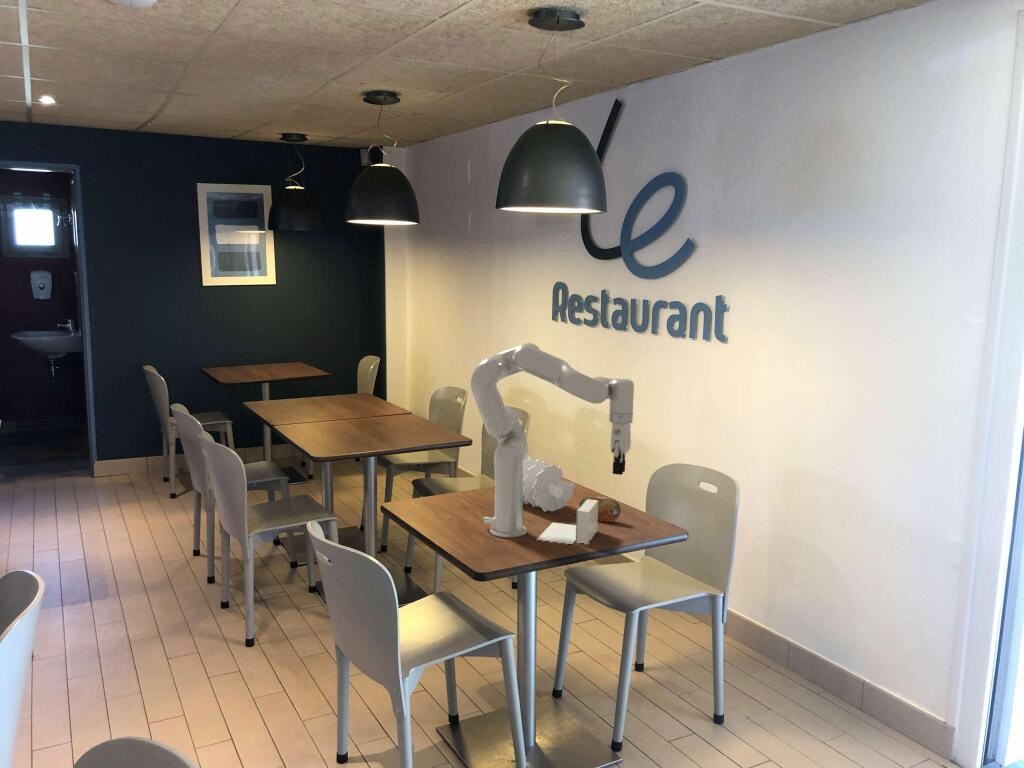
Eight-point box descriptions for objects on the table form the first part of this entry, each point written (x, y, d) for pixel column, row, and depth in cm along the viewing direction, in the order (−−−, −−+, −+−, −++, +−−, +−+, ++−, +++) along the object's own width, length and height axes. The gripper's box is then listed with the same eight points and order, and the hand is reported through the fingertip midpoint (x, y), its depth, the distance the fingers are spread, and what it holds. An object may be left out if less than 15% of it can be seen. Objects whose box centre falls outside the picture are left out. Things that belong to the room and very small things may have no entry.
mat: (536, 540, 266) (536, 539, 265) (552, 523, 283) (552, 522, 283) (572, 545, 262) (572, 543, 262) (585, 527, 280) (586, 526, 280)
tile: (575, 543, 264) (576, 510, 262) (585, 530, 277) (586, 499, 275) (587, 544, 263) (588, 511, 261) (597, 531, 276) (598, 500, 274)
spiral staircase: (548, 526, 293) (506, 506, 312) (581, 499, 301) (539, 481, 321) (533, 486, 285) (492, 467, 305) (568, 459, 294) (526, 443, 313)
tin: (578, 517, 291) (579, 495, 290) (581, 515, 293) (582, 493, 292) (618, 524, 284) (618, 501, 283) (621, 522, 287) (622, 499, 285)
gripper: (627, 422, 252) (625, 480, 255) (636, 414, 267) (634, 468, 270) (604, 420, 254) (602, 477, 257) (614, 412, 270) (612, 466, 272)
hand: (618, 472), depth 263 cm, fingers open, 3 cm apart
